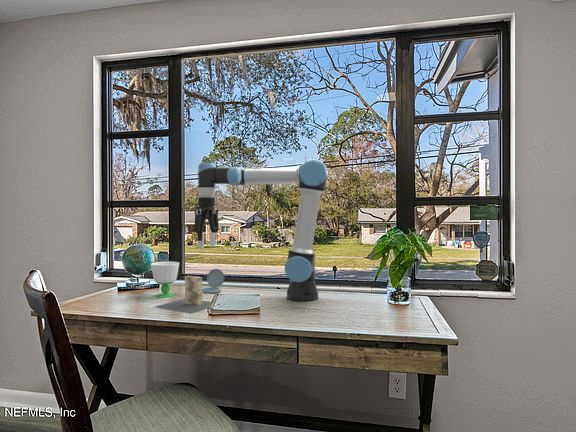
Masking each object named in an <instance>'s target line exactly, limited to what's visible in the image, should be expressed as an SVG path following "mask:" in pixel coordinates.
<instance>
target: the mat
mask: <svg viewBox="0 0 576 432" xmlns="http://www.w3.org/2000/svg"><path fill="white" fill-rule="evenodd" d="M211 302H212V301H207V300H202V305H199V306H198V305H192V304H186V303H185V298H182V299H179V300H174V301H170V302H167V303H163V304H159V305H156V306H154V308H156V309H162V310H163V309H164V310H168V311H174V312H179V313H186V314H192V315H193V314H195V313H198V312H201V311H204V310H208V309H210V308H209V305H210V303H211Z"/></svg>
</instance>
